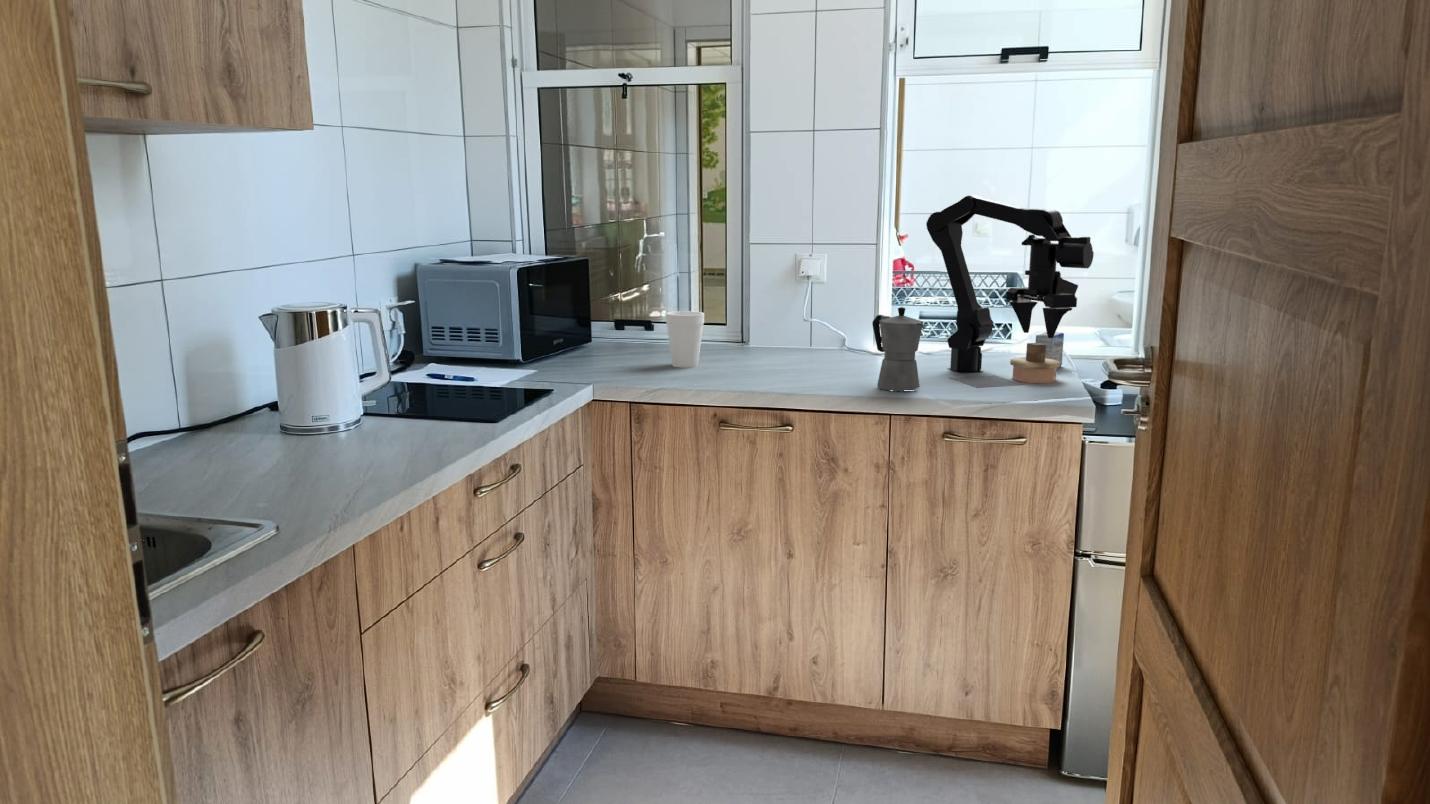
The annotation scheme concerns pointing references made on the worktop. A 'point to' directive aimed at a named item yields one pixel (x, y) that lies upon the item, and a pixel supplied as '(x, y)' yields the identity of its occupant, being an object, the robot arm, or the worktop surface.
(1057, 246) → the robot arm
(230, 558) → the worktop surface
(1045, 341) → the medicine box
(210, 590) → the worktop surface
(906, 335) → the coffeepot
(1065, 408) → the worktop surface
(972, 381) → the mat
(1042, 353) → the lid
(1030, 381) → the bowl
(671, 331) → the foam cup
